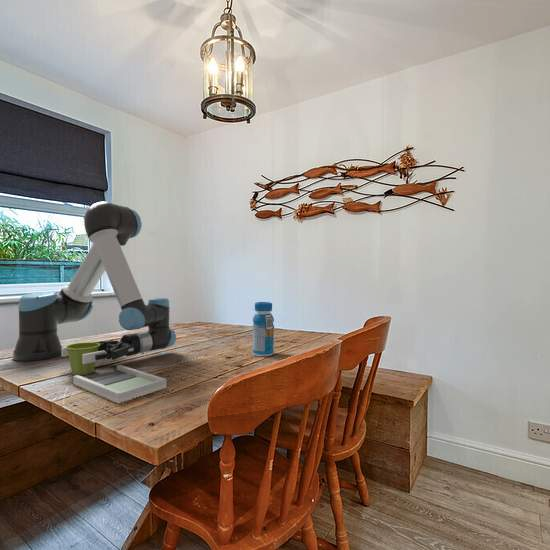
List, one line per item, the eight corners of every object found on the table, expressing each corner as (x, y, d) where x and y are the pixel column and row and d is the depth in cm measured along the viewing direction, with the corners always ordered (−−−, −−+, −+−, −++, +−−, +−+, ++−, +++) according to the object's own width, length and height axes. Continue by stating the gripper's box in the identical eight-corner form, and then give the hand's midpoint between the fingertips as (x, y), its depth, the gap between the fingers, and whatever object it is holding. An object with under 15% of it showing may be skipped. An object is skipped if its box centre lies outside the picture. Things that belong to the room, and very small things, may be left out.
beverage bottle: (251, 356, 128) (251, 303, 128) (252, 351, 137) (253, 301, 137) (273, 357, 128) (274, 303, 128) (274, 351, 137) (274, 301, 136)
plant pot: (92, 366, 114) (92, 340, 114) (105, 372, 108) (105, 344, 108) (60, 373, 107) (60, 345, 106) (72, 379, 101) (72, 350, 100)
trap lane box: (73, 384, 96) (73, 376, 96) (120, 372, 108) (120, 364, 108) (118, 403, 83) (118, 393, 83) (166, 387, 94) (166, 379, 94)
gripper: (157, 359, 115) (92, 375, 97) (116, 349, 129) (54, 361, 112) (157, 337, 114) (92, 349, 97) (116, 329, 129) (54, 338, 112)
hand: (72, 355), depth 104 cm, fingers open, 13 cm apart
